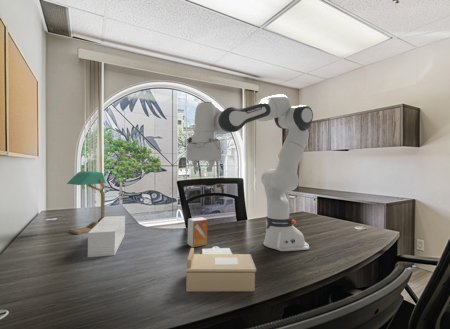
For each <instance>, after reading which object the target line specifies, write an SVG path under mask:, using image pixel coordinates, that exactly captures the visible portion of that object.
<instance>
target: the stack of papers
mask: <svg viewBox="0 0 450 329" xmlns="http://www.w3.org/2000/svg"><path fill="white" fill-rule="evenodd" d="M125 230H126V215H115V216H113V215H111V216H104V218H103V219H102V220H101V221H100V222H99V223H98V224H97V225H96V226H95V227H93V228H92V229H91V230H90V231H89V232H88V233H87V258H98V257H109V256H115V255H116V254H117V251H118V250H119V247H120V246H121V243H122V241H123V239H124V237H125V233H126V231H125Z"/></svg>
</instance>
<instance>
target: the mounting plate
mask: <svg viewBox="0 0 450 329" xmlns="http://www.w3.org/2000/svg"><path fill="white" fill-rule="evenodd" d="M201 254H233V252H232V251H231V248H230V247H222V248H221V247H220V246H212V248H202V249H201Z"/></svg>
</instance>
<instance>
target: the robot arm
mask: <svg viewBox="0 0 450 329" xmlns="http://www.w3.org/2000/svg"><path fill="white" fill-rule="evenodd" d="M313 118H314V113H313V110H312V107H310V106H308V105H303V104H299V105H296V106H295V105H294V106H292V105H291V101H290V99H289V97H288V96H286V95H285V94H275V95H271V96H270V95H269V96H266V97H263V98H261V99H258V100H257V101H255V102H254V104H253V105H250V106H246V107H243V108H242V107H241V108H239V107H234V106H231V107H230V106H229V107H227V108H225V109H224V110H222V109H220V108H219V107H218V106H217V105H216V104H215V103H214V102H212V101H204V102H201V103H199V104H197V106H196V108H195V114H194V130H193V134H192V135H191V136H190V137H188V138H187V140H186V143H187V146H186V159H187V160H188V161H191V163H192V167H193V171H195V172H197V171H200V169H199V168H200V167H199V166H198V162H199V161H202V162H203V161H205V162H206V161H208V165H207V166H208V167H206V172H207V173H208V172H209V173H212V172H213V167H214V165H215V162H220V161H221V159H222V148H221V147H222V146H221V142H220V140H219V138H215V134H219V135H226V134H231V133H235V132H239V131H240V130H241V129H242V128H243V127H244V126H245V125H246V124H248V123H251V122H254V121H256V120H257V121H258V122H267V121H272V120H274V123H275V125H276V126H277V127H278V128H279V129H281V130H282V129H283V130H287V129H288V131H287V132H288V133H287V136H286V138H285V140H284V142H283V144H282V146H281V149H280V150H279V153H278V164H277V167H276V168H268V169H266V170H265V171H264V172H263V173H262V174H261V178H260V181H261V183H262V184H263V187H264V192H265V196H266V217H265V228H266V230H265V236H264V240H263V245H264V246H265V247H267V248H270V249H273V250H277V251H280V252H292V251H293V252H294V251H304V250H305V251H306V250H310V245H309V243H308V242H306V241H305V237H304V234H303V233H302V231H300V230H299V229H298V228H296V227H295V226H294V225H296V224H297V221H296V220H295V219H293V218H291V217H290V201H289V200H288V197H287V195H286V192H291V191H294V190H295V189H297V188H298V186H299V183H300V181H299V176H298V168H299V163H300V161H301V159H302V156H303V154H304V152H305V150H306V147H307V146H308V141H309V136H310V132H309V130H308V129H309V128H310V127H311V124H312V122H313V120H314V119H313Z"/></svg>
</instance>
